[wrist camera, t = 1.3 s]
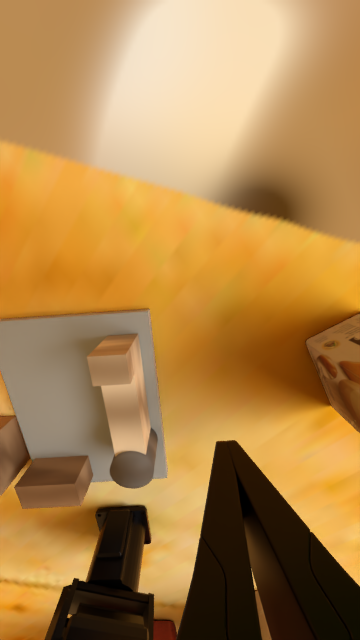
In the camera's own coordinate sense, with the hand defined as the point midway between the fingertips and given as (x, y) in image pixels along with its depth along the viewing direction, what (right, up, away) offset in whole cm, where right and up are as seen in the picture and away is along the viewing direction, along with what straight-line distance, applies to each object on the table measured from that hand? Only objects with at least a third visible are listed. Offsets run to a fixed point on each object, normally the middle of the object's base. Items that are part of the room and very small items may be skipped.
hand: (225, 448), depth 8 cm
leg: (-7, -3, +12) cm, 14 cm away
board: (-11, -4, +13) cm, 18 cm away
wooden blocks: (-17, -9, +15) cm, 25 cm away
